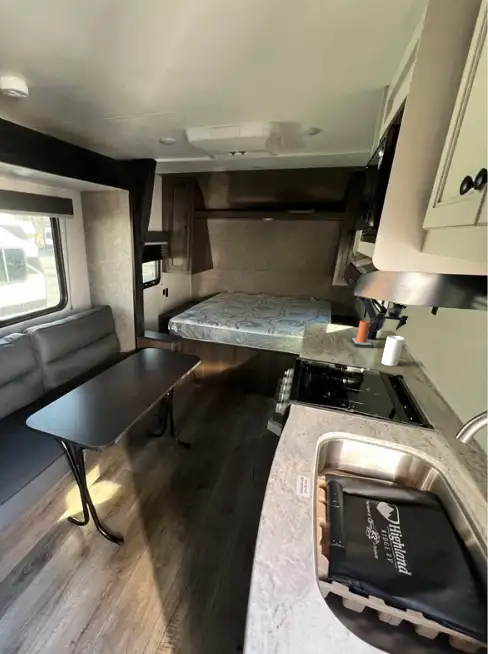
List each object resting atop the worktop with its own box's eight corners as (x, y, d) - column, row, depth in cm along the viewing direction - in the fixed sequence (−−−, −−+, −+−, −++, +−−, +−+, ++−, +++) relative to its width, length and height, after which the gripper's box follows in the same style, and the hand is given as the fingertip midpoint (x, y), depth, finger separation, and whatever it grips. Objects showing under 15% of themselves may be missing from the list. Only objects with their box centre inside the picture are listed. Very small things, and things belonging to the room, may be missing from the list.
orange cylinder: (356, 339, 232) (360, 320, 226) (366, 340, 229) (370, 321, 224) (355, 341, 227) (359, 321, 221) (366, 343, 224) (370, 322, 219)
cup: (399, 366, 190) (406, 339, 184) (384, 365, 192) (390, 339, 186) (394, 361, 198) (400, 335, 192) (379, 360, 199) (385, 335, 193)
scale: (350, 340, 238) (351, 337, 237) (367, 341, 235) (368, 338, 234) (354, 346, 224) (355, 343, 223) (372, 348, 222) (373, 344, 221)
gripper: (379, 301, 222) (370, 321, 220) (411, 303, 209) (401, 324, 207) (383, 310, 230) (374, 329, 228) (413, 313, 216) (404, 333, 214)
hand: (388, 329), depth 219 cm, fingers open, 9 cm apart
